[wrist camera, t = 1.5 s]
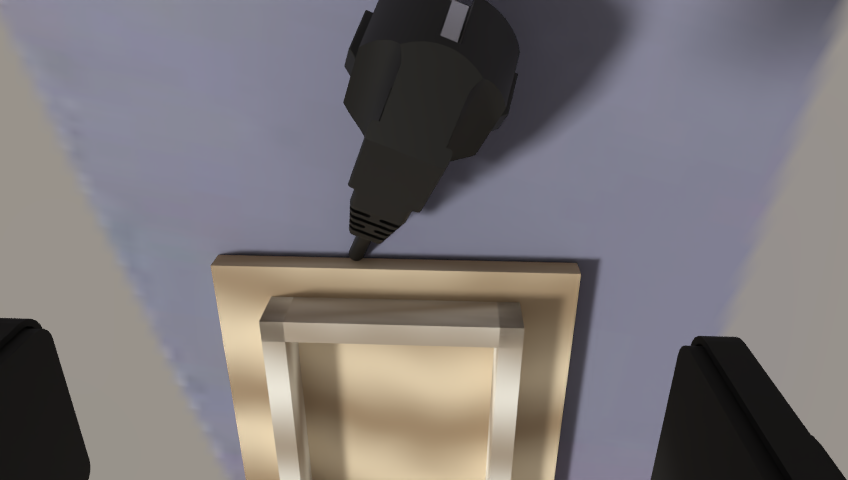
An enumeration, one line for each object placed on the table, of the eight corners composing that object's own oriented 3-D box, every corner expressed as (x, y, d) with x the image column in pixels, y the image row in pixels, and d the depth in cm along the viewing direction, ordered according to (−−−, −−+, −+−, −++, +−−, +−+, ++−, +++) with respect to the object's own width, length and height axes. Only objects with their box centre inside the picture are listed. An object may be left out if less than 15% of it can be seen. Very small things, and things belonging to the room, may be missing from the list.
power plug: (288, 247, 27) (330, 65, 17) (342, 116, 31) (404, -100, 21) (410, 291, 28) (522, 143, 18) (449, 158, 32) (561, -30, 21)
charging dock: (218, 254, 28) (193, 289, 26) (576, 262, 28) (590, 298, 25) (258, 507, 36) (242, 554, 33) (544, 517, 35) (552, 566, 32)
